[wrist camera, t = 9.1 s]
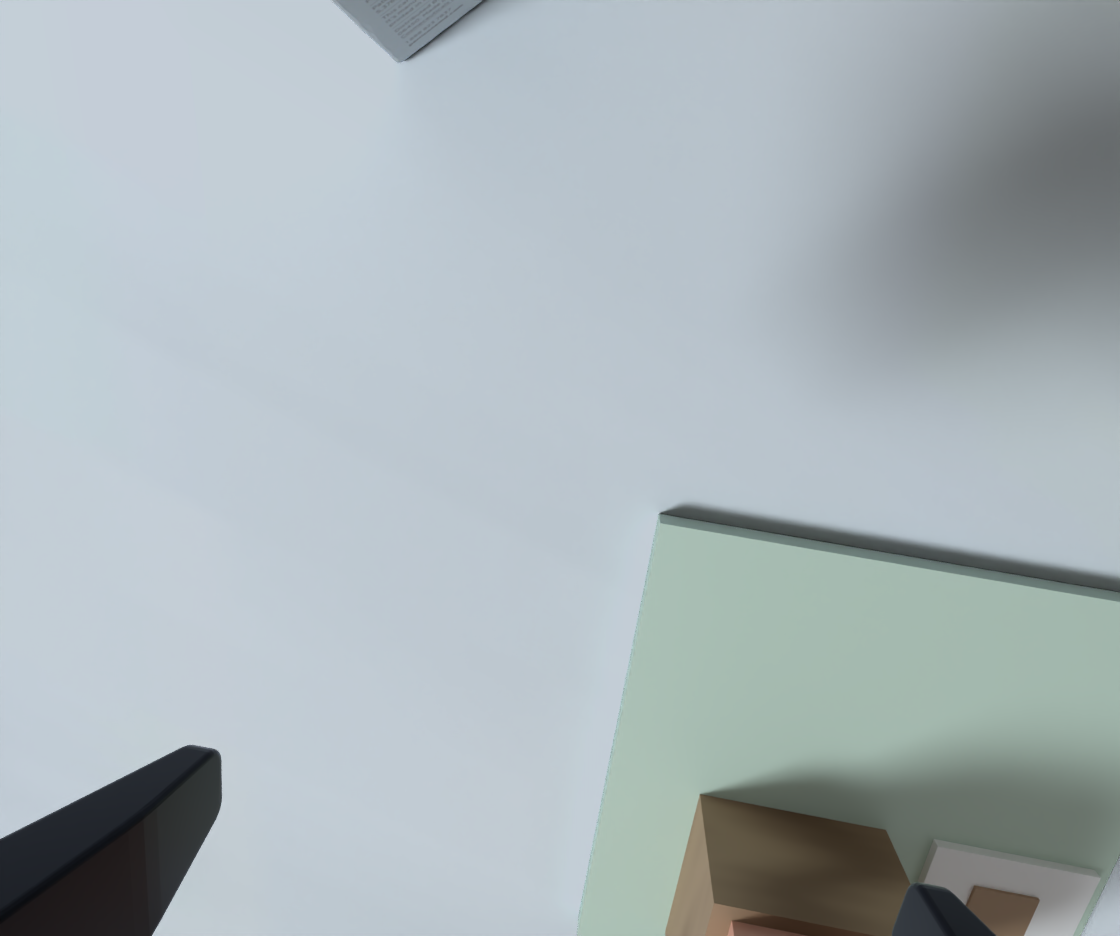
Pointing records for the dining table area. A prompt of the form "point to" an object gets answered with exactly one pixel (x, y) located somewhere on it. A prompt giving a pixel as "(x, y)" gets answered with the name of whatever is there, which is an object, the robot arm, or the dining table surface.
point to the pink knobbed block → (755, 930)
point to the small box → (404, 21)
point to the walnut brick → (785, 874)
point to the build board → (866, 722)
